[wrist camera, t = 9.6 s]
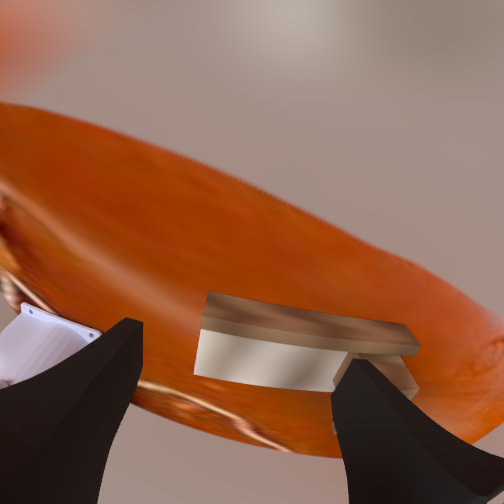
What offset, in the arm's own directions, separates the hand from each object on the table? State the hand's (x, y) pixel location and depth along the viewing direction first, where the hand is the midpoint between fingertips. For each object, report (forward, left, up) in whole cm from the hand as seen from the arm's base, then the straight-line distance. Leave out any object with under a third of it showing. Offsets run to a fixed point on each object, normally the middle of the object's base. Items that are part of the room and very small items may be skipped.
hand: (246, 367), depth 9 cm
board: (+6, -6, -10) cm, 13 cm away
